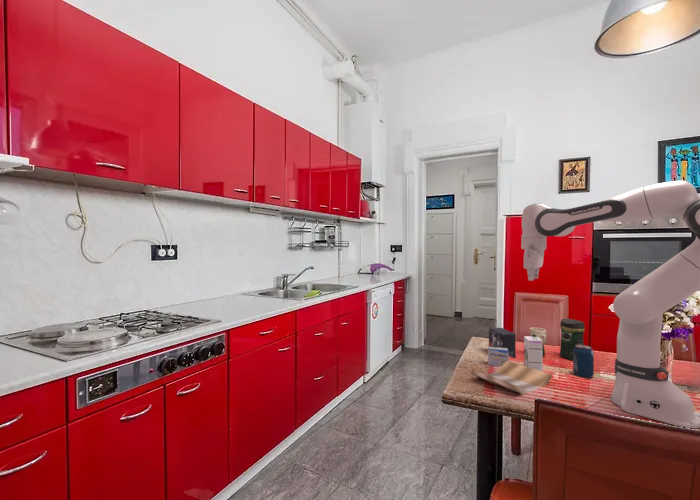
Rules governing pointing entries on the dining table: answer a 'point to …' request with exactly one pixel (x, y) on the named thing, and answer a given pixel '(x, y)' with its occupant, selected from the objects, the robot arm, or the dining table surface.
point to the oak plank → (525, 373)
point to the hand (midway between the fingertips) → (533, 279)
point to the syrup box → (533, 353)
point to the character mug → (539, 335)
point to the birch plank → (498, 382)
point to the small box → (502, 340)
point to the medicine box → (497, 356)
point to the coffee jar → (570, 336)
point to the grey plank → (515, 382)
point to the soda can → (583, 361)
